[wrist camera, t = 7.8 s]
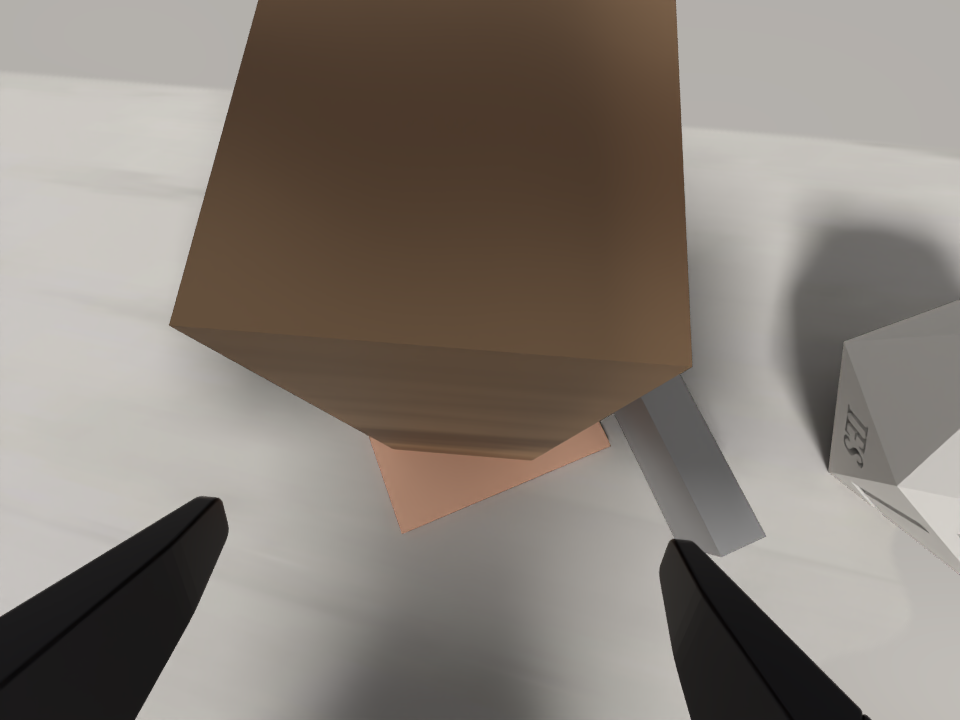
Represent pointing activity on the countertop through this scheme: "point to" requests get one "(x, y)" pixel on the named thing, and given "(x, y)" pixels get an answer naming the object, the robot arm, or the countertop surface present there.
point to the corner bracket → (688, 470)
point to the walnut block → (450, 217)
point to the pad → (466, 476)
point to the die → (905, 426)
